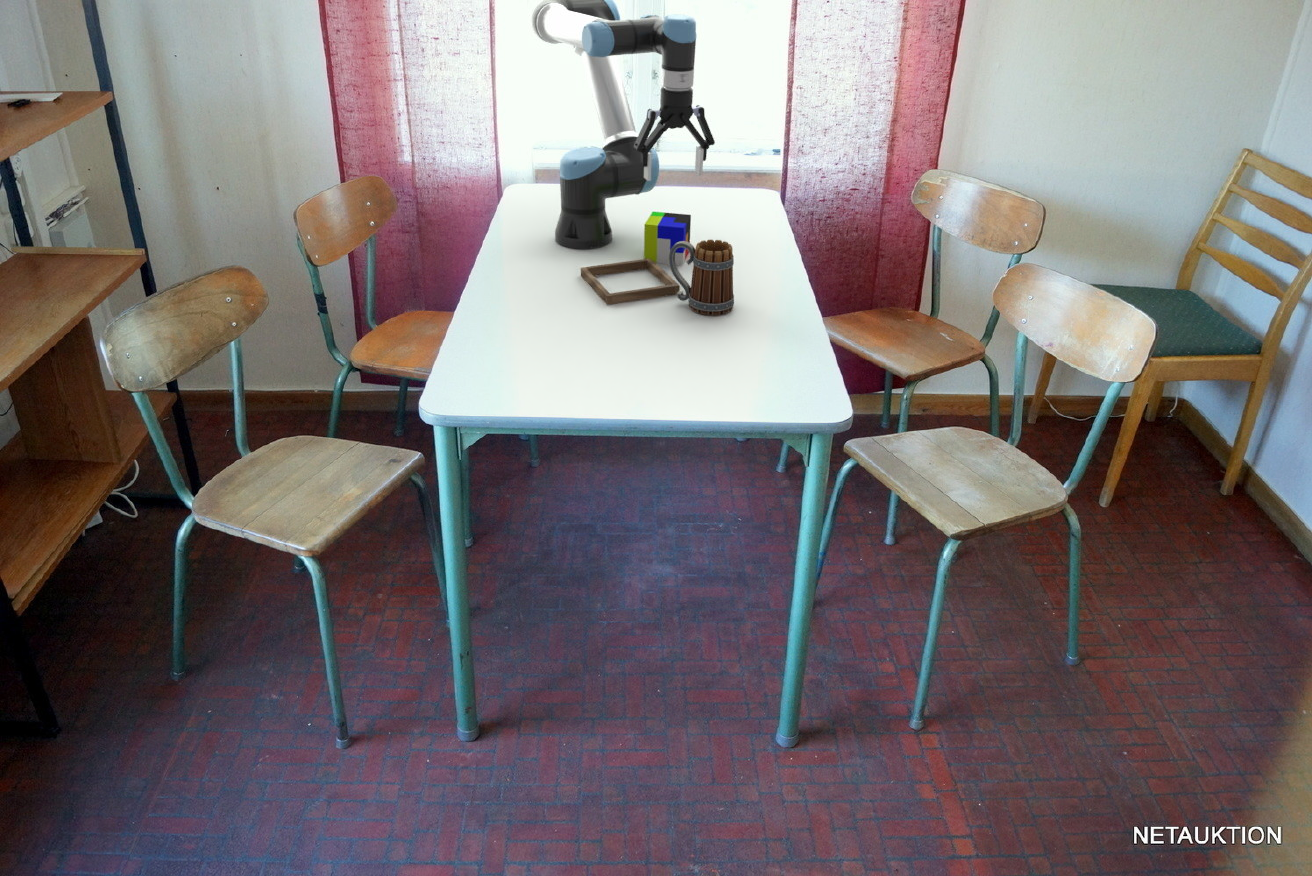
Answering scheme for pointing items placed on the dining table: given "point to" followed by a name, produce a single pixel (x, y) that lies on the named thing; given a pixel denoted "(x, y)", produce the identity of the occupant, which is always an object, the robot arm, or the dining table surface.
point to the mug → (707, 277)
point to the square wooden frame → (626, 296)
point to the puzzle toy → (666, 236)
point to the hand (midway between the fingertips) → (673, 176)
